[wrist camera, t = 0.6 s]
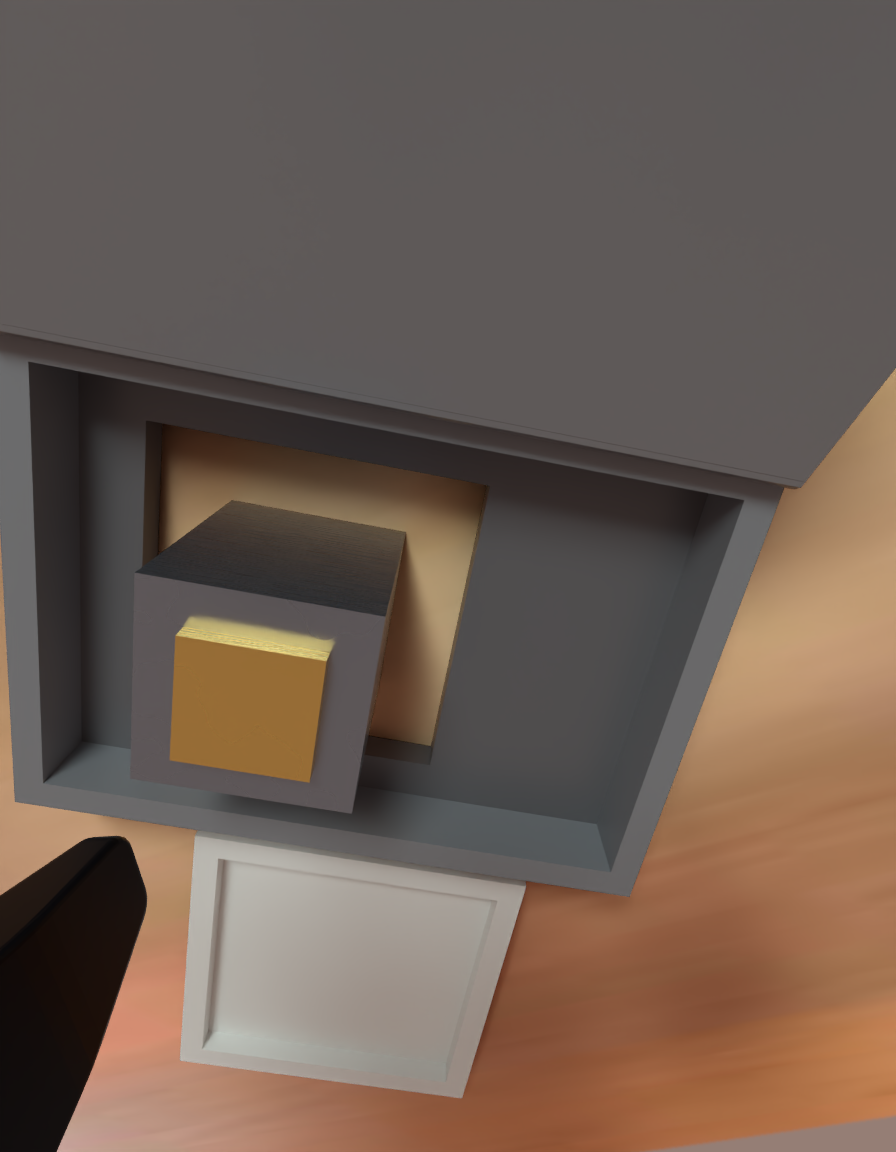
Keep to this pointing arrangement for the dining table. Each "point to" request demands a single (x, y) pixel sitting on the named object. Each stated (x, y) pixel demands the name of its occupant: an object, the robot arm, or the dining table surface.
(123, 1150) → the dining table surface
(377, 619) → the module
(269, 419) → the case
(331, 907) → the tray
